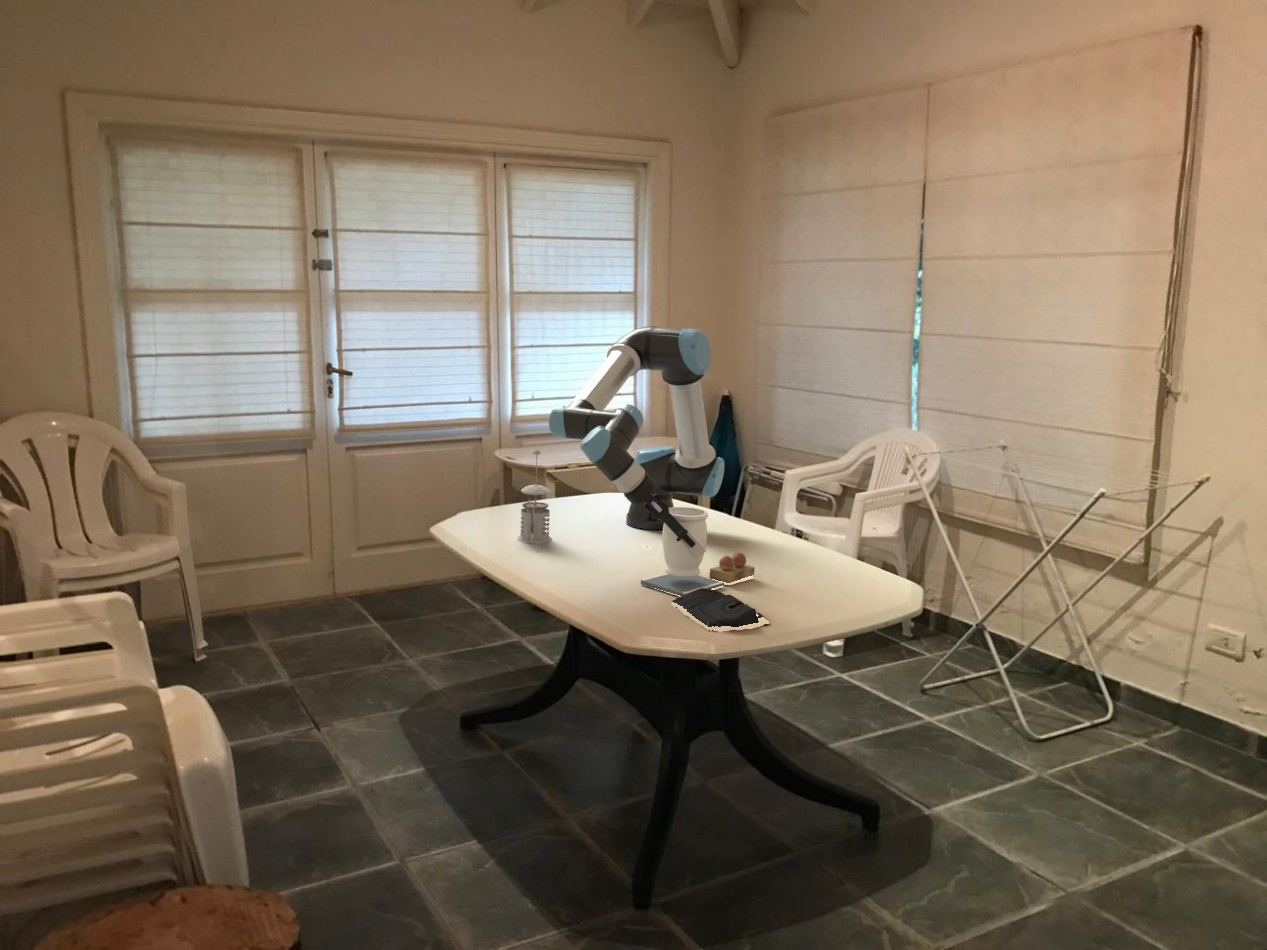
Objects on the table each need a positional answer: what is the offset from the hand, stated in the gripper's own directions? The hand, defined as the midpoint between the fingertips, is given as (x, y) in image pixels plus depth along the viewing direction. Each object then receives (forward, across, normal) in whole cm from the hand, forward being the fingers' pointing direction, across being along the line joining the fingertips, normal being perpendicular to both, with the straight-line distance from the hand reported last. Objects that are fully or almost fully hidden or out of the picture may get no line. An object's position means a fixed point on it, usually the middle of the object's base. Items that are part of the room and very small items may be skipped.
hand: (696, 548), depth 242 cm
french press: (-18, -44, -31) cm, 57 cm away
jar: (+2, 0, -6) cm, 7 cm away
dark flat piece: (+8, +20, -7) cm, 23 cm away
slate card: (+5, 0, -9) cm, 10 cm away
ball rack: (+14, -5, +1) cm, 15 cm away
